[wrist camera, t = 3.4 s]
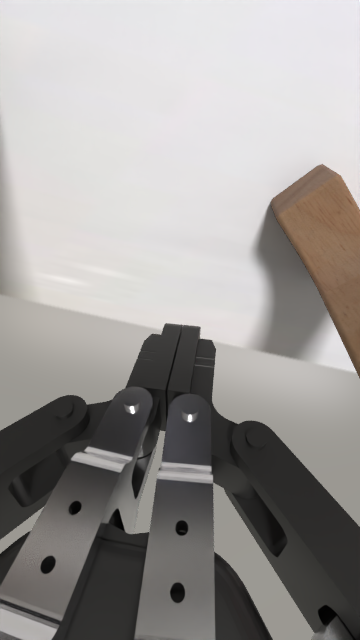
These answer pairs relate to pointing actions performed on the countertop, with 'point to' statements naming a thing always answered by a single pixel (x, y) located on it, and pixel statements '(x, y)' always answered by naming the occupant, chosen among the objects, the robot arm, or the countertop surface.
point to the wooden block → (327, 245)
